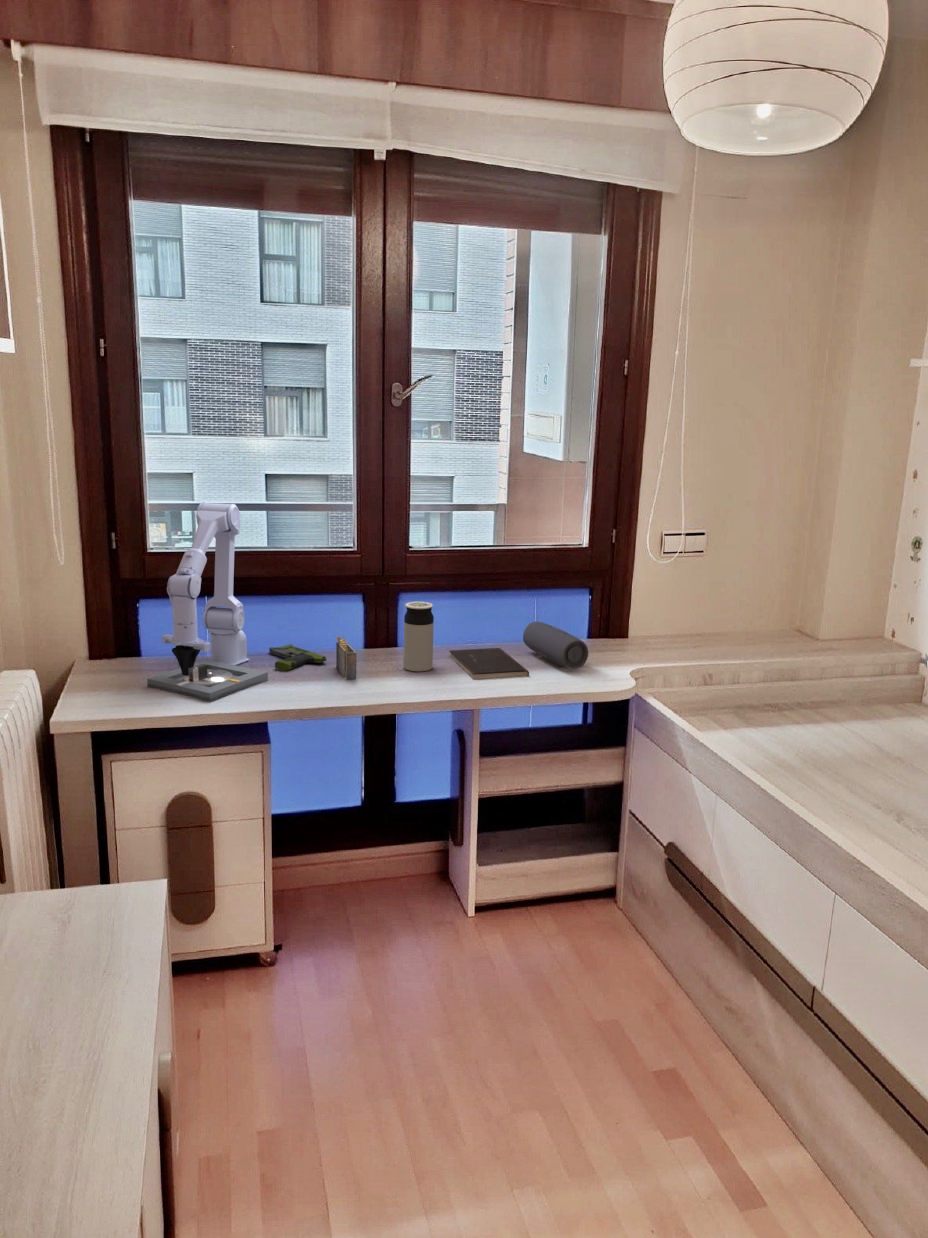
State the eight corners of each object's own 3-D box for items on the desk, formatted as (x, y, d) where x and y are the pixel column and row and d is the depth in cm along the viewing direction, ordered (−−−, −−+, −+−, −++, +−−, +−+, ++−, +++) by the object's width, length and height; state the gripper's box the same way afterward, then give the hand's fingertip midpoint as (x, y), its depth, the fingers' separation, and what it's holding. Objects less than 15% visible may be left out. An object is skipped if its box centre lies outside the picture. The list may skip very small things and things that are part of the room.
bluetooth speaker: (589, 671, 263) (591, 637, 261) (560, 675, 259) (562, 639, 257) (547, 650, 283) (549, 618, 280) (520, 653, 279) (522, 620, 276)
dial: (207, 669, 250) (206, 654, 249) (242, 677, 244) (242, 661, 243) (173, 681, 239) (172, 664, 238) (209, 689, 234) (208, 672, 233)
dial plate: (206, 667, 256) (206, 658, 255) (267, 680, 246) (267, 671, 246) (147, 686, 238) (146, 677, 237) (210, 702, 228) (210, 692, 228)
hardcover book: (472, 681, 252) (472, 673, 252) (449, 658, 274) (449, 650, 273) (528, 678, 257) (529, 670, 256) (501, 655, 278) (501, 647, 278)
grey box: (334, 669, 259) (334, 635, 257) (345, 668, 260) (345, 634, 258) (345, 681, 249) (345, 645, 247) (356, 680, 250) (356, 644, 248)
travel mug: (432, 672, 257) (433, 608, 253) (402, 671, 257) (403, 607, 253) (432, 664, 265) (434, 601, 261) (404, 663, 265) (405, 600, 261)
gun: (246, 659, 266) (290, 650, 276) (285, 673, 253) (330, 663, 263) (246, 650, 265) (290, 642, 275) (285, 664, 252) (330, 654, 262)
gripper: (151, 621, 235) (154, 673, 238) (195, 629, 228) (197, 683, 232) (172, 615, 241) (175, 666, 244) (215, 623, 234) (217, 676, 238)
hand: (187, 674), depth 238 cm, fingers closed
